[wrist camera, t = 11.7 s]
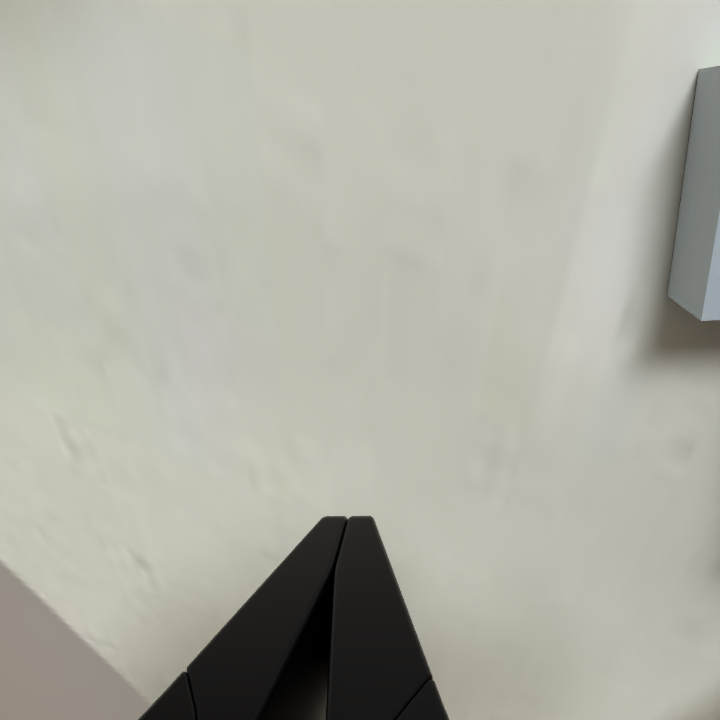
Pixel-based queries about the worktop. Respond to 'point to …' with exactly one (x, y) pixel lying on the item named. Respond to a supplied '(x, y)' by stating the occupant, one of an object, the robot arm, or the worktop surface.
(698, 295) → the pale blue eraser
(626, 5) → the worktop surface
